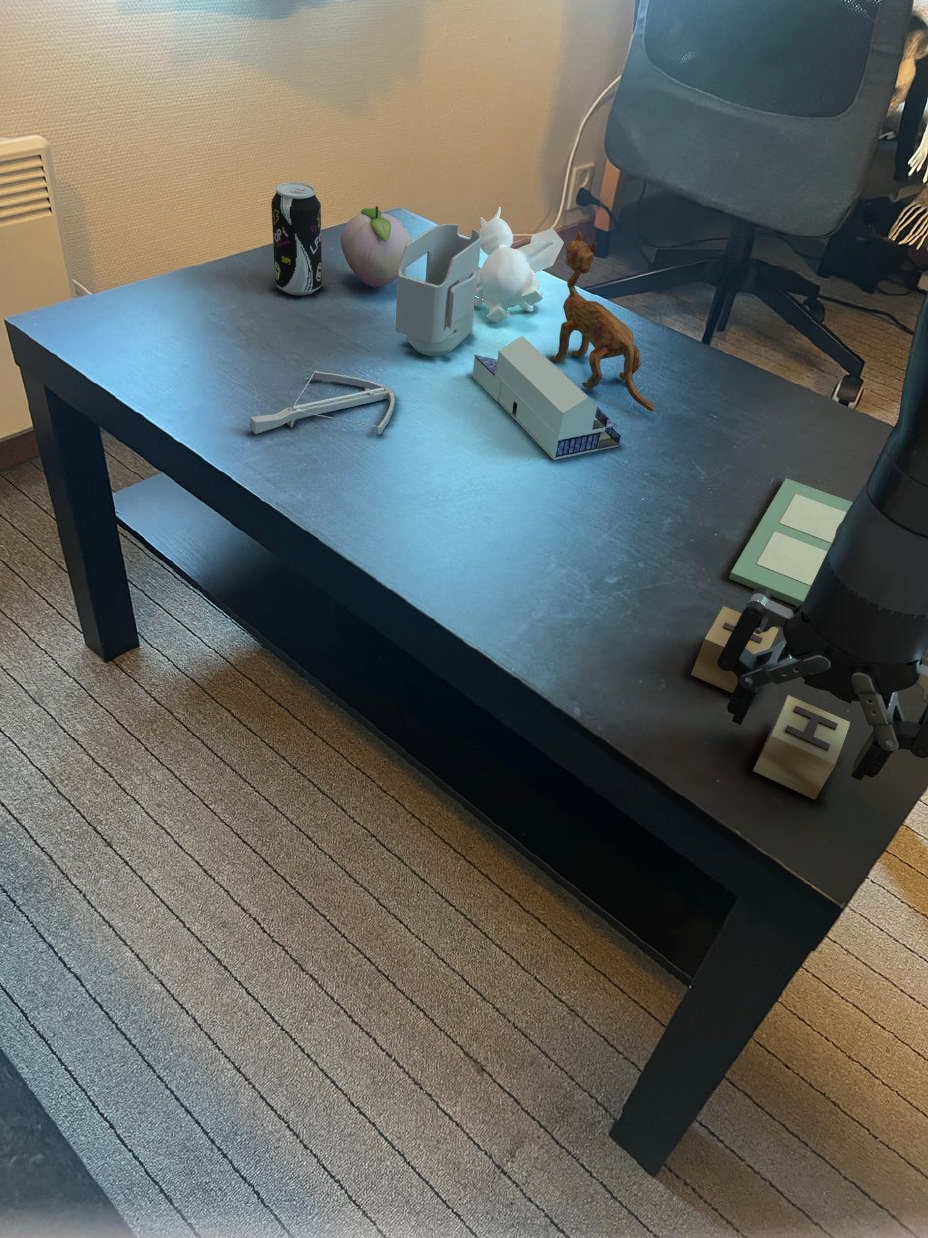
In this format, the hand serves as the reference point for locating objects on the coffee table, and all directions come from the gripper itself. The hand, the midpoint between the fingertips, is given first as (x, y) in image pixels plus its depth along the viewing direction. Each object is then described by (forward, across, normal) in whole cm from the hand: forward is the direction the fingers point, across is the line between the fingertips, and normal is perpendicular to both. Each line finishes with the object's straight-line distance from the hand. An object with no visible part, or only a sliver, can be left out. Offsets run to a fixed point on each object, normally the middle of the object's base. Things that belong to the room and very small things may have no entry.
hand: (797, 743), depth 65 cm
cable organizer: (+3, -52, +38) cm, 65 cm away
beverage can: (+4, -73, +40) cm, 84 cm away
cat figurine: (+3, -33, +43) cm, 54 cm away
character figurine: (+3, -51, +52) cm, 73 cm away
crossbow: (+3, -54, +18) cm, 57 cm away
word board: (+3, -5, +27) cm, 27 cm away
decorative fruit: (+4, -66, +47) cm, 81 cm away
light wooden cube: (+2, 0, 0) cm, 2 cm away
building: (+3, -36, +32) cm, 49 cm away
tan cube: (+3, -7, +7) cm, 10 cm away
